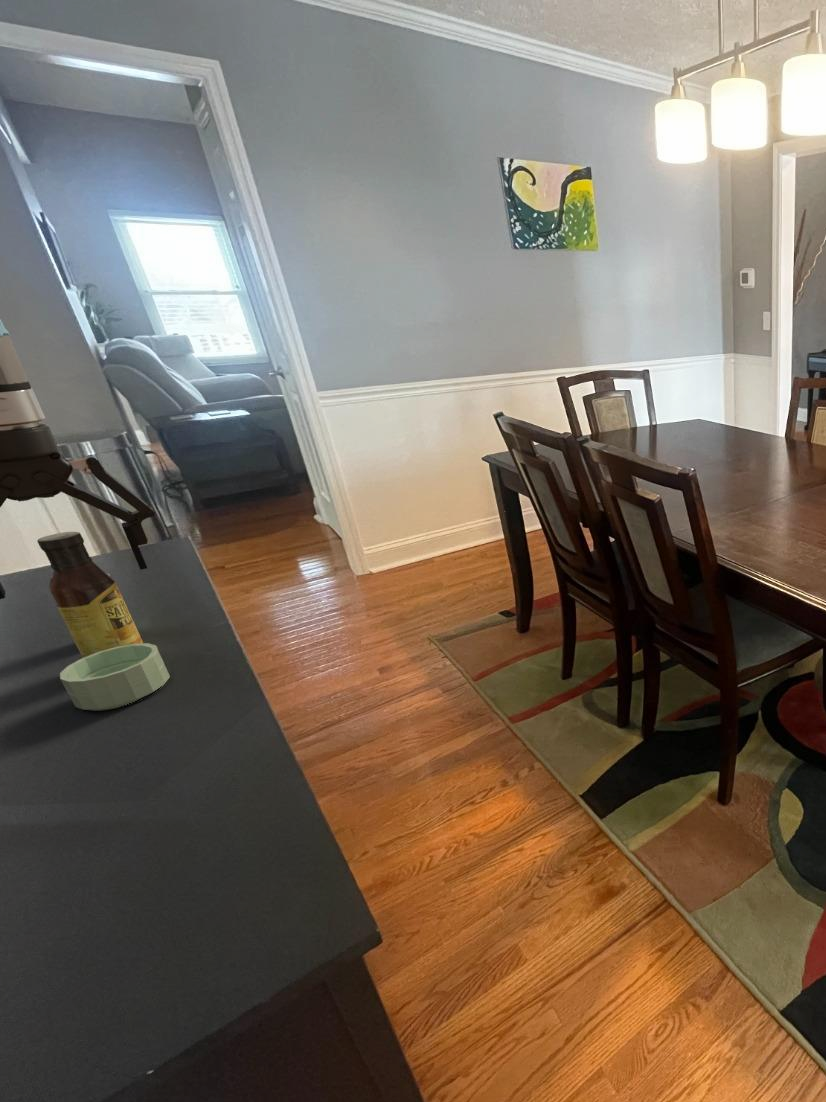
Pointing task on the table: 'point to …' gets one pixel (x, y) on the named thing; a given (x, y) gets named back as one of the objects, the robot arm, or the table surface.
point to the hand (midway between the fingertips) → (76, 580)
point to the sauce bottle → (87, 596)
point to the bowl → (115, 676)
